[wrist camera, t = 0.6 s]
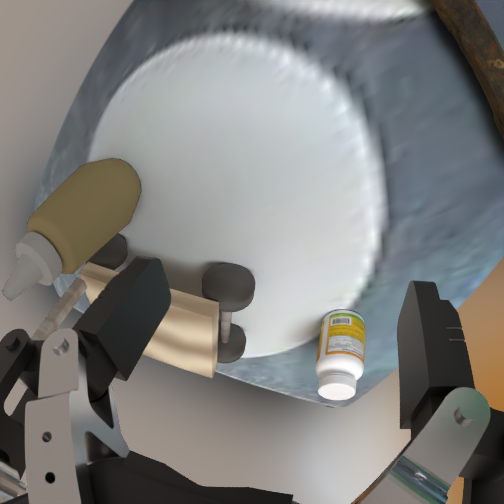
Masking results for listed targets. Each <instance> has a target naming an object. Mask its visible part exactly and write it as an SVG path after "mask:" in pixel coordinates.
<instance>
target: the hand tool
mask: <svg viewBox="0 0 504 504" xmlns="http://www.w3.org/2000/svg"><path fill="white" fill-rule="evenodd" d="M429 1H430V3H431V4H432V6H433V7H434V9H435V10H436V11H437V13H438V15H439V17H440V19H441V20H442V21H443V22H444V24H445V26H446V27H447V29H448V30H449V31H450V32H451V33H452V35H453V36H454V38H455V39H456V41H457V43H458V44H459V46H460V50H461V52H462V53H463V54H464V55H465V57H466V59H467V60H468V62H469V64H470V66H471V67H472V69H473V71H474V73H475V75H476V77H477V79H478V81H479V83H480V85H481V87H482V89H483V91H484V93H485V95H486V97H487V100H488V102H489V104H490V107H491V109H492V111H493V119H494V122H495V124H496V126H497V128H498V130H499V132H500V134H501V136H502V138H503V140H504V51H503V49H502V47H501V45H500V43H499V41H498V40H497V38H496V36H495V34H494V32H493V30H492V29H491V27H490V25H489V23H488V21H487V20H486V18H485V16H484V15H483V13H482V11H481V10H480V8H479V6H478V5H477V3H476V2H475V0H429Z"/></svg>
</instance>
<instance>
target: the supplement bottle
mask: <svg viewBox="0 0 504 504" xmlns="http://www.w3.org/2000/svg"><path fill="white" fill-rule="evenodd" d="M364 347H365V322H364V320H363V318H362V317H361V316H360V315H359V314H357V313H355V312H353V311H349V310H337V311H333V312H331V313H329V314H328V315H326V316H325V318H324V319H323V321H322V326H321V334H320V341H319V348H318V355H317V361H316V373H317V375H318V377H319V378H320V381H319V388H318V392H319V394H320V395H321V396H322V397H324V398H327V399H331V400H345V399H348V398H351V397H352V396H354V394H355V391H356V380H358V379H359V378H360V377H361V375H362V373H363V369H364Z"/></svg>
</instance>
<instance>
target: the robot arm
mask: <svg viewBox="0 0 504 504" xmlns="http://www.w3.org/2000/svg"><path fill="white" fill-rule="evenodd" d="M170 304H171V292H170V288H169V285H168V282H167V279H166V276H165V273H164V270H163V266H162V263H161V261H160V260H159V259H158V258H150V257H136V258H135V259H134V260H133V261H132V262H131V264H130V265H129V266H128V267H127V268H126V269H124V270H123V271H121V272H120V273H119V274H117V275H116V276H114V277H113V278H112V279H111V280H110V282H109V283H108V284H107V285H106V286H105V288H104V290H102V291H101V293H100V294H99V295H98V298H96V299H95V300H94V301H93V302H92V304H91V305H90V306H89V308H88V309H87V310H86V311H85V313H84V314H83V315H82V316H81V318H80V319H79V320H78V322H77V323H76V324H75V326H74V327H73V328H72V329H69V328H64V329H59V330H57V331H55V332H53V333H52V334H50V335H49V336H48V337H47V338H46V340H31V338H30V337H29V335H28V334H27V332H26V331H24V330H23V329H15V330H12V331H11V332H9V333H8V334H6V336H4V338H3V339H2V340H1V342H0V504H299V503H297V502H294V501H292V499H293V495H291V494H284V493H278V492H272V491H266V490H260V489H255V488H250V487H206V486H201V485H198V484H196V483H194V482H193V481H191V480H189V479H188V478H186V477H185V476H183V475H181V474H180V473H178V472H177V471H175V470H173V469H172V468H170V467H169V466H167V465H166V464H164V463H161V462H159V461H156V460H153V459H150V458H148V457H145V456H143V455H140V454H138V453H135V452H133V451H130V450H129V448H128V445H127V444H126V442H125V440H124V439H123V436H122V434H121V430H120V425H119V420H118V414H117V408H116V402H115V395H114V389H113V386H112V384H111V382H112V380H113V378H114V377H115V378H118V379H121V380H124V381H127V380H128V378H129V376H130V374H131V373H132V371H133V369H134V367H135V366H136V364H137V362H138V360H139V359H140V357H141V355H142V354H143V352H144V350H145V348H146V347H147V345H148V343H149V342H150V340H151V338H152V336H153V335H154V333H155V331H156V330H157V328H158V326H159V325H160V323H161V321H162V320H163V318H164V316H165V315H166V313H167V311H168V309H169V307H170ZM464 340H465V338H464V334H463V330H462V326H461V322H460V318H459V315H458V312H457V311H456V310H455V308H454V307H453V306H452V304H451V303H450V302H449V300H440V298H439V294H438V290H437V287H436V284H435V283H434V282H426V281H410V283H409V286H408V289H407V292H406V296H405V299H404V303H403V306H402V309H401V312H400V316H399V319H398V326H397V342H398V358H399V379H400V429H411V440H410V441H409V442H408V444H407V445H406V446H405V447H404V448H403V450H402V451H401V452H400V453H399V454H398V455H397V457H396V458H395V459H394V460H393V461H392V462H391V463H390V465H389V466H388V467H387V468H386V469H385V470H384V471H383V472H382V473H381V475H380V476H379V477H378V478H377V479H376V480H375V481H374V482H373V483H372V484H371V485H370V486H369V487H368V488H367V489H366V490H365V491H364V492H363V493H362V494H361V495H360V496H359V497H357V498H356V499H355V500H354V501H353V502H352V503H351V504H446V502H447V499H448V497H447V492H448V490H449V488H450V487H451V486H452V484H453V482H454V481H455V480H456V478H457V477H458V476H459V477H463V478H464V489H463V500H462V504H504V412H502V411H498V410H495V409H492V408H491V407H489V404H488V402H487V400H486V398H485V397H484V396H483V395H482V394H481V393H480V392H479V391H477V390H476V389H475V386H474V381H473V375H472V370H471V365H470V360H469V355H468V351H467V346H466V342H464ZM18 378H19V379H20V380H21V381H22V382H23V383H24V384H25V385H26V386H27V387H28V388H27V390H26V391H25V393H24V395H23V397H22V398H21V400H20V402H19V403H18V405H17V407H16V409H15V410H14V412H13V414H12V415H11V416H8V415H7V414H6V413H5V411H4V402H5V400H6V398H7V396H8V394H9V393H10V391H11V389H12V388H13V386H14V384H15V383H16V381H17V380H18ZM25 469H26V477H27V488H28V493H26V486H25V484H24V483H23V482H21V481H20V480H21V478H22V475H23V473H24V471H25ZM17 495H19V496H18V497H17Z"/></svg>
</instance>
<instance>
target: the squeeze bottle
mask: <svg viewBox="0 0 504 504" xmlns="http://www.w3.org/2000/svg"><path fill="white" fill-rule="evenodd" d="M140 193H141V184H140V180H139V178H138V175H137V173H136V172H135V170H134V169H133V168H132V167H131V166H130V165H129V164H128V163H126V162H124V161H123V160H121V159H114V158H111V159H105V160H100V161H95V162H90V163H87V164H85V165H82V166H80V167H79V168H78V169H77V170H76V171H75V172H74V173H73V174H72V175H71V176H69V177H68V178H67V179H66V180H65V181H64V182H63V183H62V184H61V185H60V186H59V187H58V188H57V189H56V190H55V191H54V192H53V193H52V194H51V195H50V196H49V197H48V198H47V199H46V200H45V201H44V202H43V203H42V205H41V206H40V207H39V208H38V209H37V210H36V211H35V212H34V213H33V214H32V215H31V216H30V218H29V220H28V223H27V229H28V233H27V234H26V235H25V236H24V237H23V238H22V239H21V240H20V241H19V242H18V243H17V245H16V255H17V257H18V259H19V261H18V262H17V264H16V266H15V268H14V269H13V271H12V273H11V274H10V276H9V278H8V280H7V282H6V284H5V285H4V287H3V289H2V292H3V294H4V295H5V297H6V298H7V299H9V300H10V301H12V300H13V299H15V298H16V297H17V296H18V295H20V294H21V293H22V292H24V291H25V290H26V289H28V288H29V287H30V286H32V285H33V284H34V283H36V282H38V283H41V284H43V285H51V284H52V283H53V282H54V281H55V279H56V278H57V277H58V276H59V275H60V273H63V274H73V273H74V272H75V271H77V270H78V269H79V268H80V267H81V266H82V265H83V264H84V263H85V262H86V261H87V260H88V259H89V258H90V257H92V256H93V255H94V254H95V253H96V252H97V251H98V250H99V249H100V248H101V247H103V246H104V245H105V244H106V243H107V242H108V241H109V240H110V239H112V238H113V237H114V236H115V235H116V234H117V233H118V232H120V231H121V230H122V229H123V228H124V227H125V226H126V225H128V224H129V223H130V221H131V218H132V215H133V213H134V210H135V207H136V204H137V202H138V199H139V196H140Z"/></svg>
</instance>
